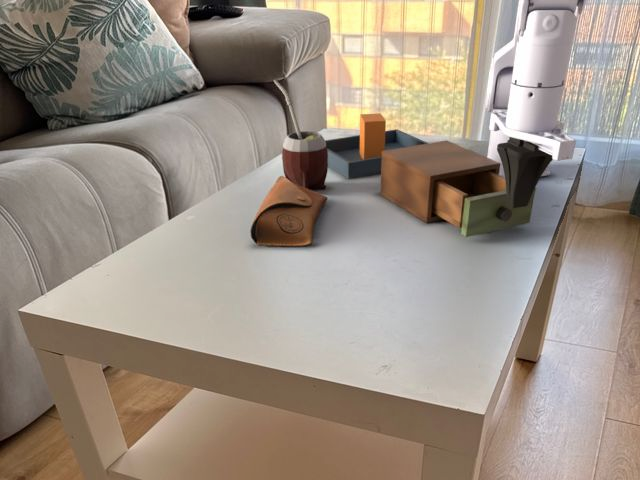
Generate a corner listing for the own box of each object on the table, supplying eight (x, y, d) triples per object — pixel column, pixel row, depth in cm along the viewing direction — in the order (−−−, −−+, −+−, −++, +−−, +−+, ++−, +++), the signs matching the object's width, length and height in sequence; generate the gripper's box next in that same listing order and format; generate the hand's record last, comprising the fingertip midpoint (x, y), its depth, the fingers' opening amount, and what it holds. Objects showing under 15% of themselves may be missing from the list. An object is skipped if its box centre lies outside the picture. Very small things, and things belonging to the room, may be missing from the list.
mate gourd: (328, 196, 98) (326, 88, 88) (277, 197, 98) (270, 89, 88) (328, 180, 104) (326, 77, 94) (280, 181, 104) (273, 79, 94)
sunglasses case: (315, 243, 82) (286, 198, 79) (271, 268, 85) (242, 226, 82) (329, 196, 96) (305, 156, 93) (291, 219, 99) (267, 181, 96)
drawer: (535, 226, 84) (542, 190, 81) (471, 240, 81) (476, 203, 78) (475, 195, 94) (479, 162, 91) (415, 207, 91) (418, 173, 88)
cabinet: (494, 209, 91) (500, 163, 87) (426, 223, 88) (430, 176, 84) (442, 182, 101) (446, 140, 97) (380, 194, 98) (381, 151, 94)
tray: (396, 143, 119) (397, 129, 118) (437, 162, 109) (438, 147, 108) (313, 156, 114) (312, 142, 113) (348, 178, 104) (348, 163, 102)
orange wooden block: (379, 152, 113) (380, 113, 109) (384, 161, 109) (385, 120, 105) (359, 153, 113) (360, 114, 109) (363, 162, 109) (364, 121, 105)
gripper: (611, 91, 66) (581, 220, 74) (532, 68, 76) (514, 183, 85) (552, 98, 64) (528, 229, 72) (480, 74, 75) (467, 190, 83)
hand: (517, 205), depth 79 cm, fingers closed
